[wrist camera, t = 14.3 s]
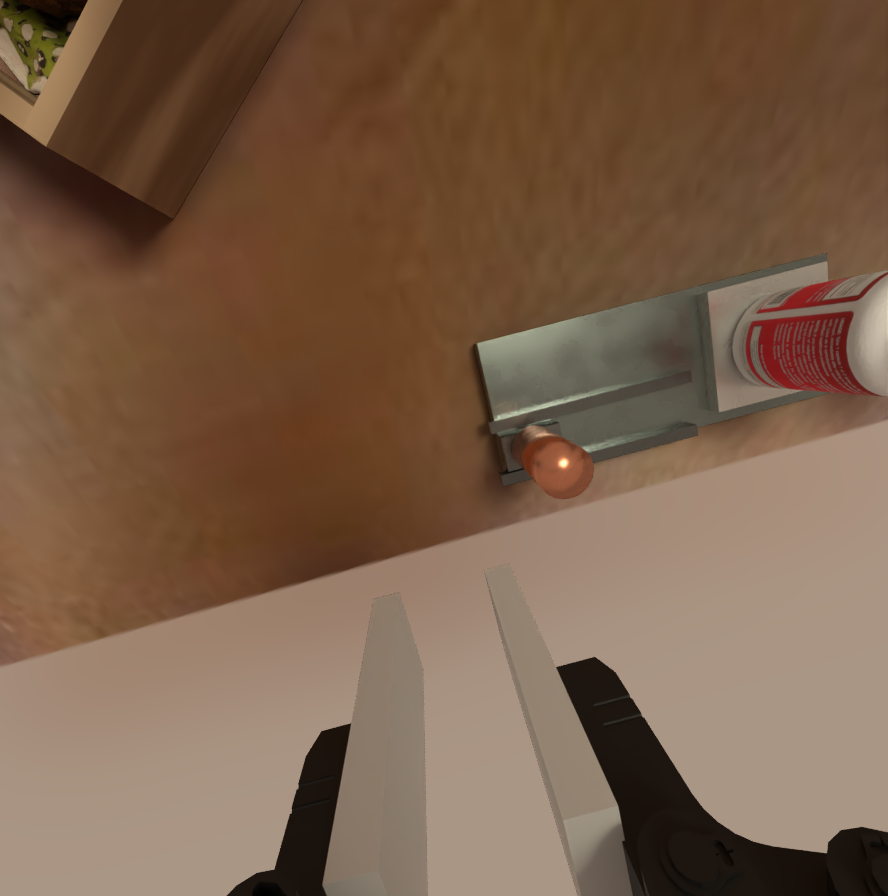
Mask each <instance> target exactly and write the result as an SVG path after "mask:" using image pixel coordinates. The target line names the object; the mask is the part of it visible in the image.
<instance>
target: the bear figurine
mask: <svg viewBox="0 0 888 896" xmlns="http://www.w3.org/2000/svg"><path fill="white" fill-rule="evenodd" d="M87 1H88V0H0V57H1V58H2V60H3V61H4V62H5V63H6V65H7V66H8V67H9V68H10V70H11V71H12V72H13V73H14V74H15V76H16V77H17V78H18V79H19V81H20V82H21V83H22V84H23V86H24V87H25V88H26V89H27V90H29V91H30V92H32V93H34V94H40V93H41V91H42V89H43V87H44V85H45V83H46V81H47V79H48V77H49V76H50V74H51V72H52V70H53V68H54V66H55V64H56V62H57V60H58V58H59V56H60V54H61V52H62V50H63V48H64V46H65V44H66V42H67V40H68V39H69V37H70V35H71V33H72V31H73V29H74V27H75V25H76V23H77V21H78V19H79V17H80V15H81V13H82V11H83V9H84V7H85V5H86V3H87Z"/></svg>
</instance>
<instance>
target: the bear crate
mask: <svg viewBox="0 0 888 896" xmlns="http://www.w3.org/2000/svg"><path fill="white" fill-rule="evenodd" d="M301 2H302V0H88V1H87V3H86V5H85V7H84V9H83V11H82V13H81V15H80V17H79V19H78V21H77V23H76V25H75V27H74V29H73V31H72V33H71V35H70V37H69V39H68V40H67V42H66V44H65V46H64V48H63V50H62V52H61V54H60V56H59V58H58V60H57V62H56V64H55V66H54V68H53V70H52V72H51V74H50V76H49V77H48V79H47V81H46V83H45V85H44V87H43V89H42V91H41V93H40V95H39V97H38V98H37V97H36V96H34V95H33V94H32V93H30V92H29V91H28V90H26V89H25V88H24V87H22V86H21V85H20V84H18V83H17V82H16V81H14V80H13V79H12V78H10V77H9V76H8V75H6V74H5V73H4V72H2V71H1V70H0V114H2V115H3V116H4V117H6V118H7V119H9V120H10V121H11V122H13V123H14V124H15V125H17V126H18V127H20V128H21V129H22V130H24V131H25V132H26V133H28V134H29V135H31V136H32V137H33V138H35V139H36V140H37V141H39V142H40V143H42V144H43V145H44V146H46V147H47V148H49V149H51V150H53V151H54V152H56V153H58V154H60V155H62V156H63V157H65V158H67V159H69V160H70V161H72V162H74V163H76V164H77V165H79V166H81V167H83V168H84V169H86V170H88V171H90V172H91V173H93V174H95V175H97V176H98V177H100V178H102V179H104V180H105V181H107V182H109V183H111V184H112V185H114V186H116V187H118V188H120V189H121V190H123V191H125V192H127V193H128V194H130V195H132V196H134V197H135V198H137V199H139V200H141V201H142V202H144V203H146V204H148V205H149V206H151V207H153V208H155V209H156V210H158V211H160V212H162V213H163V214H165V215H167V216H169V217H171V218H172V219H174V217H175V216H176V214H177V212H178V211H179V209H180V207H181V205H182V204H183V202H184V200H185V199H186V197H187V195H188V194H189V192H190V190H191V188H192V187H193V185H194V183H195V182H196V180H197V178H198V177H199V175H200V173H201V171H202V170H203V168H204V166H205V165H206V163H207V161H208V160H209V158H210V156H211V154H212V153H213V151H214V149H215V148H216V146H217V144H218V143H219V141H220V139H221V137H222V136H223V134H224V132H225V131H226V129H227V127H228V126H229V124H230V122H231V120H232V119H233V117H234V115H235V114H236V112H237V110H238V109H239V107H240V105H241V103H242V102H243V100H244V98H245V97H246V95H247V93H248V92H249V90H250V88H251V86H252V85H253V83H254V81H255V80H256V78H257V76H258V75H259V73H260V71H261V69H262V68H263V66H264V64H265V63H266V61H267V59H268V58H269V56H270V54H271V53H272V51H273V49H274V47H275V46H276V44H277V42H278V41H279V39H280V37H281V36H282V34H283V32H284V30H285V29H286V27H287V25H288V24H289V22H290V20H291V19H292V17H293V15H294V13H295V12H296V10H297V8H298V7H299V5H300V3H301Z"/></svg>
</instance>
